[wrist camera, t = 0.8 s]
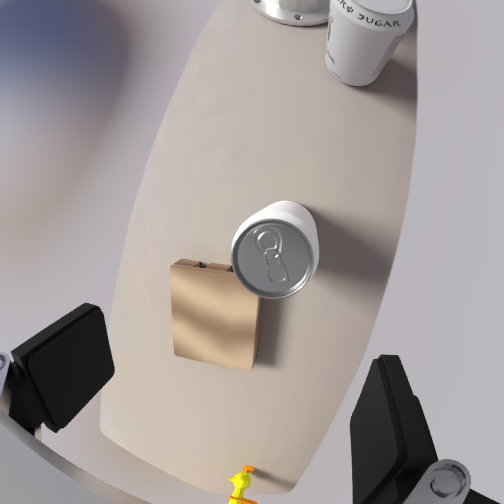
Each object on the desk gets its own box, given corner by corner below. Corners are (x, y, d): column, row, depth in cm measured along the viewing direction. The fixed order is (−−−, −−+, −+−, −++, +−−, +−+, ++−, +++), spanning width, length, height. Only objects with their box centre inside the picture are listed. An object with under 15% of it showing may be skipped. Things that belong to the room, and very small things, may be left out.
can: (308, 194, 29) (308, 201, 18) (322, 253, 30) (328, 295, 19) (249, 208, 31) (213, 224, 19) (264, 265, 32) (239, 311, 21)
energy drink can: (332, 36, 24) (340, -48, 10) (382, 54, 24) (423, -19, 9) (318, 77, 26) (322, 1, 12) (371, 96, 25) (416, 35, 11)
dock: (181, 259, 34) (170, 266, 31) (264, 269, 32) (259, 278, 29) (183, 343, 37) (174, 355, 34) (256, 357, 35) (251, 371, 32)
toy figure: (269, 469, 41) (257, 520, 30) (263, 477, 42) (251, 525, 31) (235, 459, 42) (218, 509, 31) (230, 467, 43) (213, 514, 32)
